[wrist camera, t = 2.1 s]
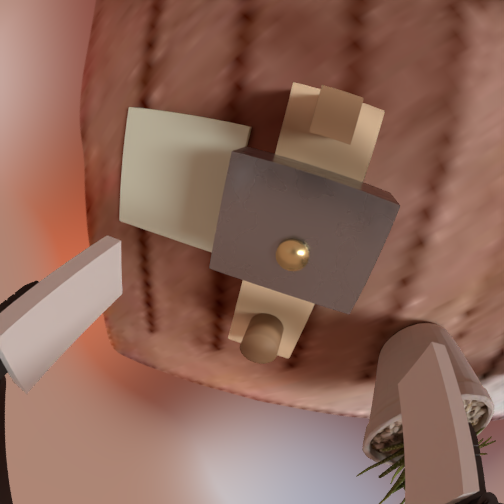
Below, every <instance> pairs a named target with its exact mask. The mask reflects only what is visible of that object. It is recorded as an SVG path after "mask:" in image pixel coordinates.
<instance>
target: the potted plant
mask: <svg viewBox="0 0 504 504" xmlns="http://www.w3.org/2000/svg"><path fill="white" fill-rule="evenodd" d="M431 342H435V343H438V344H442V345H445V347H446V350H447V352H448V355H449V358H450V361H451V364H452V367H453V370H454V373H455V376H456V380H457V383H458V386H459V390H460V393H461V397H462V400H463V404H464V408H465V412H466V416H467V420H468V422H471V424H472V426H473V428H474V430H475V432H476V434H477V435H478V434H480V433H481V431H482V430H483V429H484V428H485V427H486V426H487V424H488V423H489V422H490V420H491V418H492V416H493V413H494V404H493V402H492V400H491V398H490V396H489V394H488V392H487V390H486V389H485V388H484V387H483V386H482V385H481V383H480V381H479V379H478V378H477V376H476V374H475V373H474V371H473V369H472V368H471V366H470V364H469V363H468V361H467V359H466V358H465V356H464V355H463V353H462V351H461V350H460V348H459V347H458V345H457V344H456V342H455V341H454V339H453V338H452V337H451V336H450V334H449V333H448V332H447V331H446V330H445V329H444V328H443V327H441V326H439V325H437V324H431V323H420V324H416V325H412V326H409V327H406V328H404V329H402V330H400V331H398V332H397V333H396V334H395V335H393V336H392V337H391V338H390V339H389V340H388V341H387V342H386V343H385V344H384V346H383V348H382V350H381V352H380V355H379V360H378V366H377V373H376V381H375V388H374V395H373V402H372V408H371V414H370V420H369V424H368V425H367V427H366V432H365V436H364V441H363V452H364V453H365V455H366V456H367V457H368V458H370V459H372V460H374V461H376V462H378V463H376V464H374V465H372V466H370V467H368V468H367V469H365V470H364V471H362V472H361V473H359V474H358V475H357V476H359V475H360V474H362V473H364V472H366V471H368V470H369V469H371V468H374V467H376V466H378V465H380V464H383V463H384V464H389V465H392V466H391V467H390V468H388V469H387V470H386V471H385V472H383V473H382V474H381V475H380V476H379V478H381V477H383V476H385V475H386V474H388V473H389V472H391V471H392V470H394V469H396V468H397V467H399V466H400V467H399V468H398V469H397V471H396V473H395V474H394V476H393V478H392V481H393V479H394V478H395V476H396V475H397V474H398V473H399V472H400V471H401V470H402V469H403V468H404V467H405V455H404V438H403V426H402V415H401V406H400V397H399V390H398V383H399V382H400V381H401V380H402V379H403V377H404V376H405V375H406V374H407V373H408V371H409V370H410V369H411V368H412V367H413V365H414V364H415V363H416V362H417V360H418V359H419V358H420V357H421V355H422V354H423V353H424V351H425V350H426V349H427V347H428V346H429V345H430V343H431ZM490 438H491V437H490ZM490 438H489V439H490ZM489 439H488V440H489ZM482 440H483V439H482ZM482 440H480V441H479V442H478V444H480V443H481V442H482ZM488 440H486V441H485V442H484V443H483V444H481V445H479V446H478V447H479V448H482V447H484V446H486V445H489V444H491V443H493V442H495V441H493V442H490V443H487V444H485V443H486V442H487V441H488ZM485 454H487V453H480V455H485ZM392 481H391V483H392ZM402 482H403V483H402ZM391 483H390V484H391ZM403 487H404V490H405V468H404V470H403V471H402V473H401V475H400V477H399V478H398V480H397V481H396V483H395V484H394V485H393V487H392V488H391V490H390V491H389V492H388V493H387V495H386V496H385V498H384V499H383V500H382V501H381V502H380V503H379V504H381V503H382V502H383V501H385V500H386V499H387V498H388V497H389V496H390V495H391V494H392V493H394V492H396V491H397V490H399V489H401V488H403ZM404 502H405V498H404V500H403V501H402V503H400V504H403V503H404Z"/></svg>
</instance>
